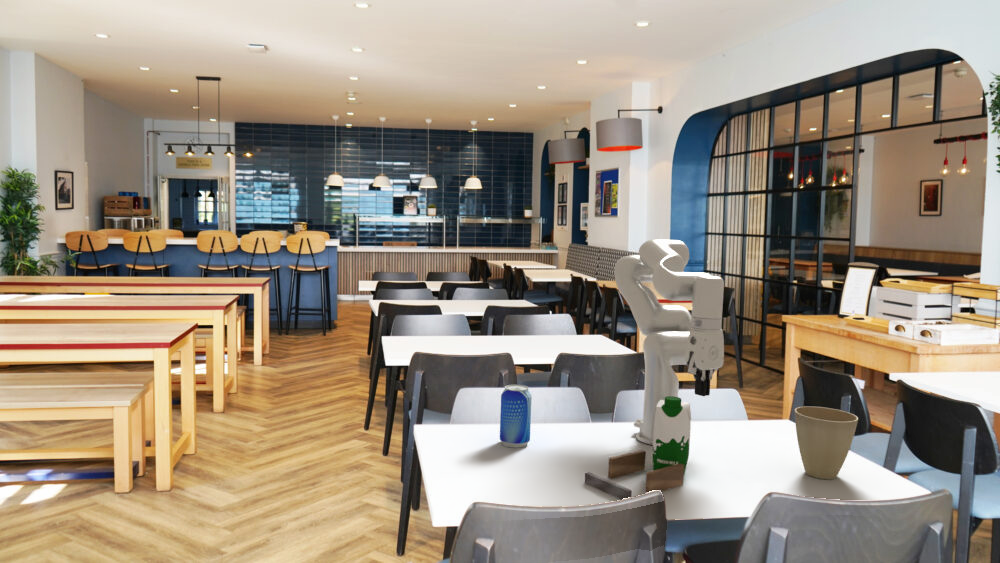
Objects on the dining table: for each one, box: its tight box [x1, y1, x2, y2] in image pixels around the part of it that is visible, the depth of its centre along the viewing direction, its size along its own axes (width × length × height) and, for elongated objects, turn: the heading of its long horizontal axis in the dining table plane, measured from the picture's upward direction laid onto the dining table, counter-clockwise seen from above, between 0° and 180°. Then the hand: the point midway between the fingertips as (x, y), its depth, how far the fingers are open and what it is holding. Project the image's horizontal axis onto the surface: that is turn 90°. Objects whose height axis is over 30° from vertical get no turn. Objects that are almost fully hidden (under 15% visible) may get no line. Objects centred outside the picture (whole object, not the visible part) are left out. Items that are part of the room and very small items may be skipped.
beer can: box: [499, 384, 532, 448], centre depth 211 cm, size 8×8×16 cm
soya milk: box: [652, 396, 692, 474], centre depth 190 cm, size 9×9×20 cm
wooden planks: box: [584, 449, 685, 500], centre depth 183 cm, size 14×20×5 cm
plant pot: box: [794, 406, 859, 480], centre depth 195 cm, size 15×15×16 cm
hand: (701, 394), depth 196 cm, fingers closed
